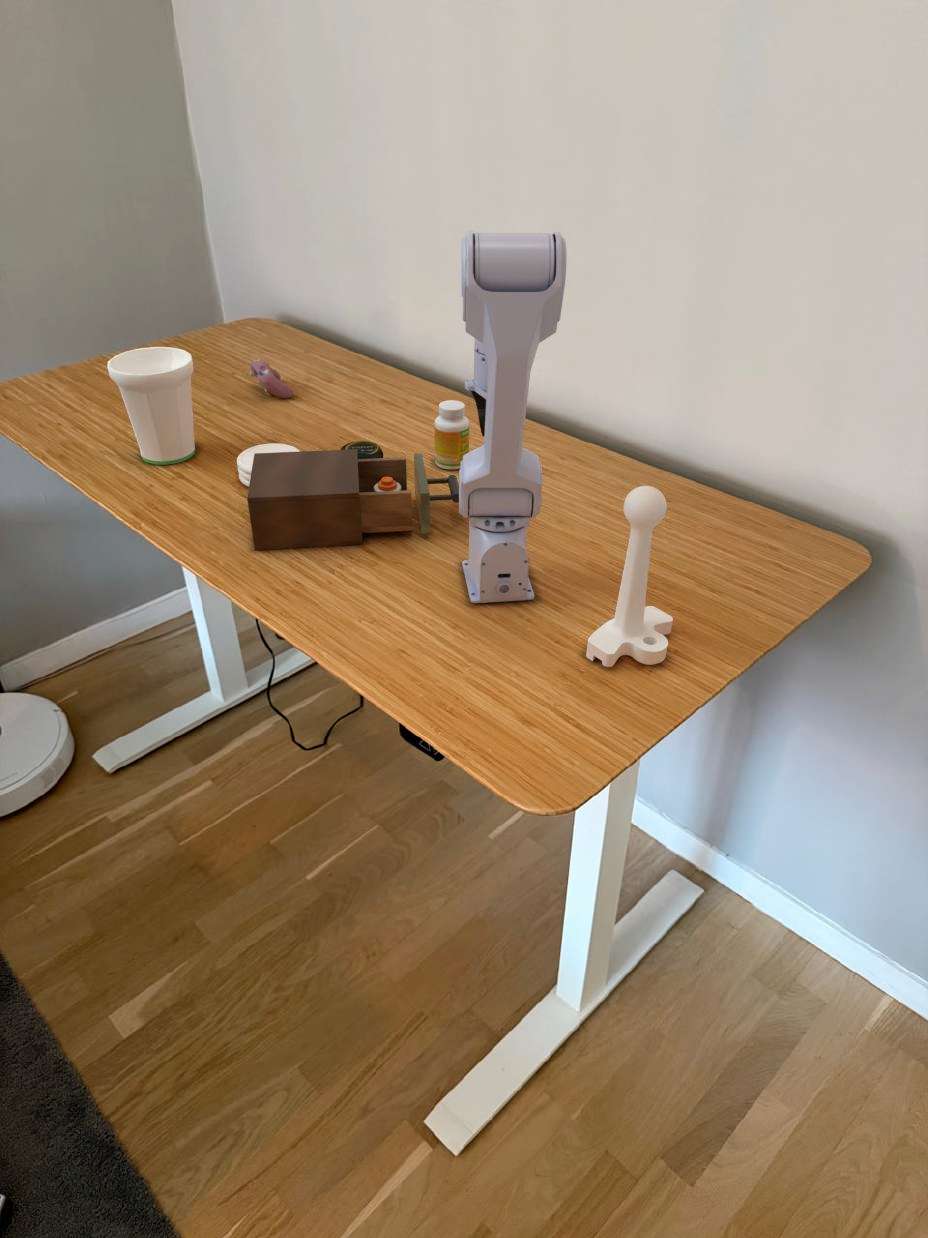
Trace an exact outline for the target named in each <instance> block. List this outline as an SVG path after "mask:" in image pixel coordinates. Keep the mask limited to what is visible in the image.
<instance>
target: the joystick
mask: <svg viewBox="0 0 928 1238" xmlns="http://www.w3.org/2000/svg"><path fill="white" fill-rule="evenodd" d="M667 504H668V503H667V499H666V497H665V495H664V494H663V493H662V492H661V490H660V489H658V488H656V487H654V486H651V485H640V486H637V487H635V488H633V489H632V490H631V491H630V492H628V494H627V495H626V497H625V499H624V502H623V514H624V517H625V518H626V520H627V521H628V522H629V525H630V533H629V539H628V544H627V549H626V554H625V555H626V556H625V559H624V560H625V561H624V565H623V571H622V576H621V580H620V586H619V592H618V597H617V602H616V608H615V613H614V617H613V618H611V619H609V620H607V621H606V622H605V623H603V624H602V625H600V627H598V628H597V629H596V630H595V631H593V633H592V634H591V635H590V636H589V637H588V638H587V645H586V653H585V655H586V659H588V660H590V661H591V662H594V660H595V659H596V658H597V659H598V660H600V661H601V665H602V666H604V667H606V668H610V667H614V665H615V664H616V662H617V660H619V658H621V656H629V657H632V658H633V659H634V661H637V662H638V663H640V664H642V665H649V666H651V665H652V666H653V665H657V664H660V663H663V661H665V659H666V657H667V653H668V647H669V646H668V645H669V640H668V638H667V637H666V636H665V635H669V634H671V633H672V627H673V623H674V618H673V617H672V616H671V615H669V613H666V612H664V611H663V610H661V609H659V608H657V607H656V606H653V605H647V606H646V599H647V588H648V580H649V579H648V578H649V568H650V560H651V559H650V558H651V549H652V540H653V539H652V537H653V530H654V528H655V527H656V526H657V525H659V524H660V523H661V522H662V521H663V520H664V518H665V516H666V514H667V511H668V510H667V509H668V505H667Z"/></svg>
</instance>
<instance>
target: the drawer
mask: <svg viewBox="0 0 928 1238" xmlns="http://www.w3.org/2000/svg"><path fill="white" fill-rule="evenodd" d="M423 457H424V456H423V453H414V454H413V477H414V478H413V479H414V495H415V501H416V502H415V503H416V508H417V514H418V520H419V527H420V533H421V534H422V535H423V534H431V502H434V501H435V502H438V501H452V502H453V503H457V504H459V480H458V478H457V476H456V475H455V474H449V475H448V476H447V477H441V478H428V477H427V473H426V472H427V471H426V466H425V462H424V461H425V460H424V458H423ZM357 460H358V478H359V496H360V511H361V526H362V534H369V533H370V534H371V533H372V534H373V533H391V532H405V531H406V532H407V531H408V532H410V531H413V507H412V505H413V504H412V503H413V502H412V490H411V489H408V481H407V480H408V479H407V475H408V473H407V458H406V456H400V457H383V458H374V459H357ZM383 477H391V478H393V480H395V481H396V482H397V483H399V484H400V485H401V491H384V492H374V486H375V485H376V484H377V483H378V482H379V481H381V479H382V478H383ZM438 484H439V485H440V484H441V485H442V484H447V485H448V490H449V494H432V495H431V493H430V488H429V485H438Z"/></svg>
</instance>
